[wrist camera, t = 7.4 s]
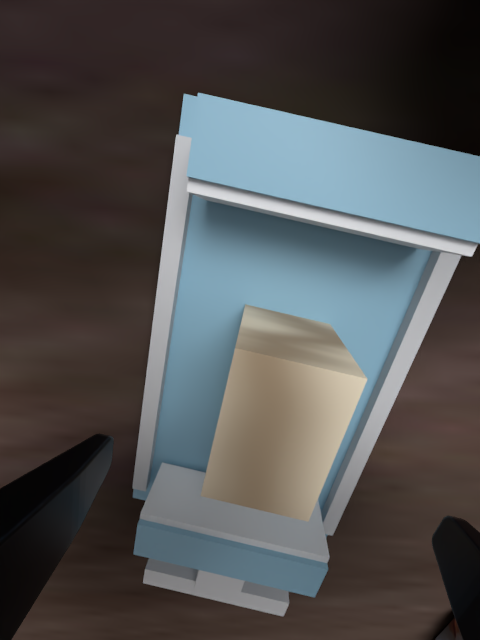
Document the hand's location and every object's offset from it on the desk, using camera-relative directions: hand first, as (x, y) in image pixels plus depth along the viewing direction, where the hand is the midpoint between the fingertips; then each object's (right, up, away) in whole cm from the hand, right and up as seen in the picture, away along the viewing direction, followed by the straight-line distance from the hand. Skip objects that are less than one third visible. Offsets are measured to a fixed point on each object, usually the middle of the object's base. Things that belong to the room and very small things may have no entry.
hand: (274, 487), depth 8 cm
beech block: (+1, +2, +7) cm, 7 cm away
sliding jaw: (-2, -7, +10) cm, 12 cm away
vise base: (+1, +2, +7) cm, 7 cm away
